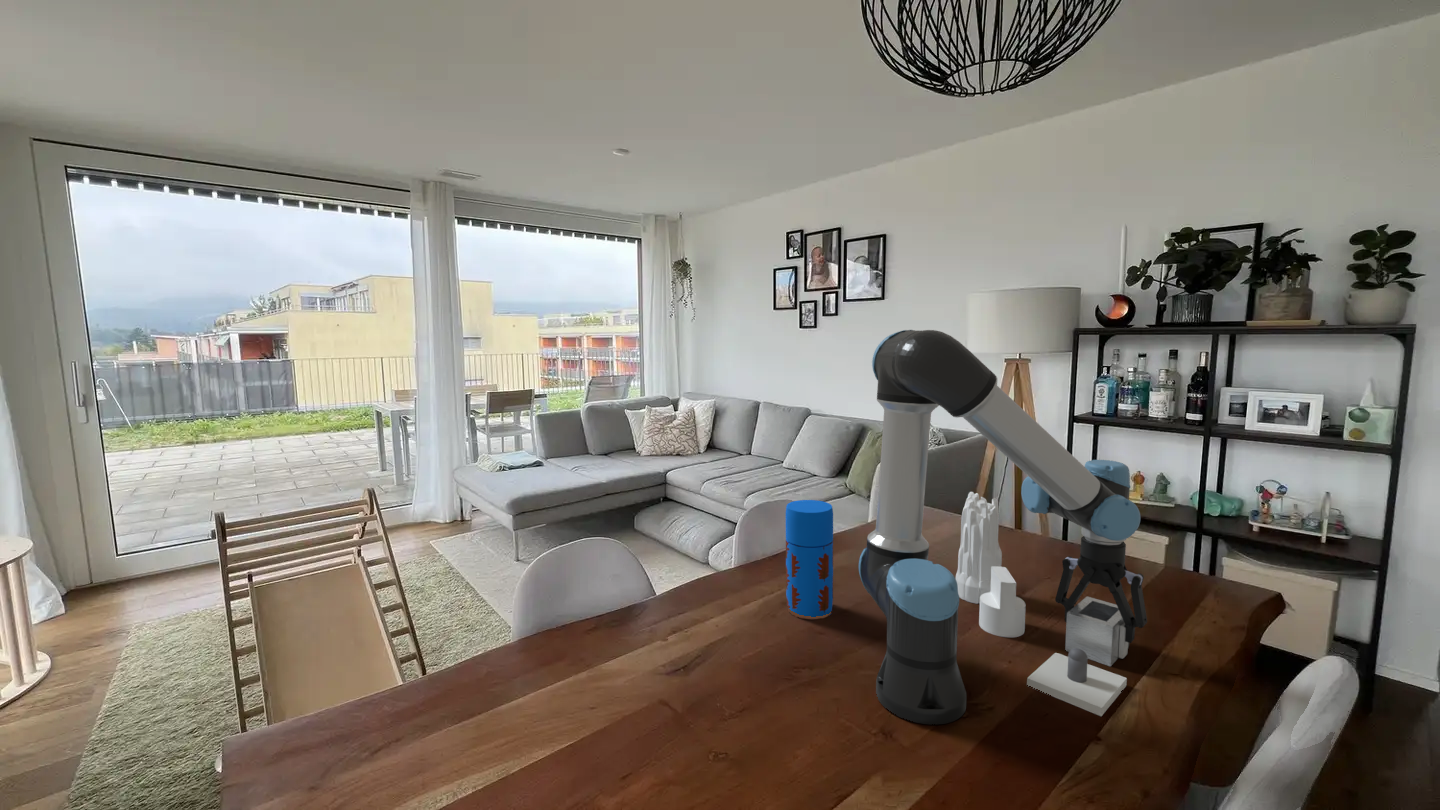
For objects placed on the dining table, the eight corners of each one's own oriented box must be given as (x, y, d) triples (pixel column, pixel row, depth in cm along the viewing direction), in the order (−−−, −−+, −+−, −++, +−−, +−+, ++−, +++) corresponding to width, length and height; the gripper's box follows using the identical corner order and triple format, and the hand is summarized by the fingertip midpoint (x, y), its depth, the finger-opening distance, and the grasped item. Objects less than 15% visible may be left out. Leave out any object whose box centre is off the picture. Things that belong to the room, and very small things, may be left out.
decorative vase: (1010, 604, 142) (1014, 501, 139) (965, 605, 142) (968, 501, 139) (991, 585, 153) (994, 489, 150) (948, 585, 153) (951, 489, 150)
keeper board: (1101, 716, 101) (1103, 677, 100) (1026, 685, 110) (1028, 649, 109) (1126, 685, 109) (1128, 649, 108) (1055, 659, 118) (1056, 625, 117)
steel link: (1110, 666, 115) (1112, 626, 114) (1065, 650, 121) (1067, 612, 120) (1128, 646, 122) (1131, 608, 121) (1085, 632, 128) (1087, 596, 127)
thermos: (831, 600, 146) (831, 499, 143) (835, 620, 136) (835, 513, 133) (786, 599, 147) (785, 499, 144) (786, 619, 137) (785, 512, 134)
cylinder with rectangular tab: (1030, 639, 126) (1032, 584, 125) (984, 635, 128) (985, 581, 126) (1017, 619, 135) (1019, 567, 133) (975, 616, 137) (976, 565, 135)
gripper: (1173, 547, 114) (1165, 660, 116) (1053, 522, 130) (1049, 622, 132) (1162, 557, 109) (1154, 675, 112) (1039, 530, 125) (1034, 634, 127)
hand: (1097, 646), depth 122 cm, fingers open, 8 cm apart
